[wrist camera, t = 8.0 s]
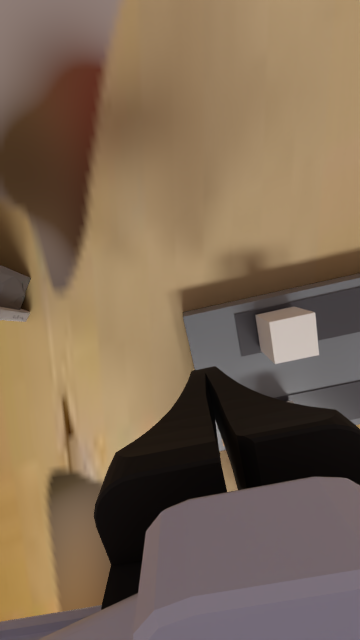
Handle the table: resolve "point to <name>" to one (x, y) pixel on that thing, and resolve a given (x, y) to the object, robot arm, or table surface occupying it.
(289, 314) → the tab
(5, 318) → the electrical switch
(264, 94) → the table surface
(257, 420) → the robot arm
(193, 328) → the switch board
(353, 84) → the table surface
